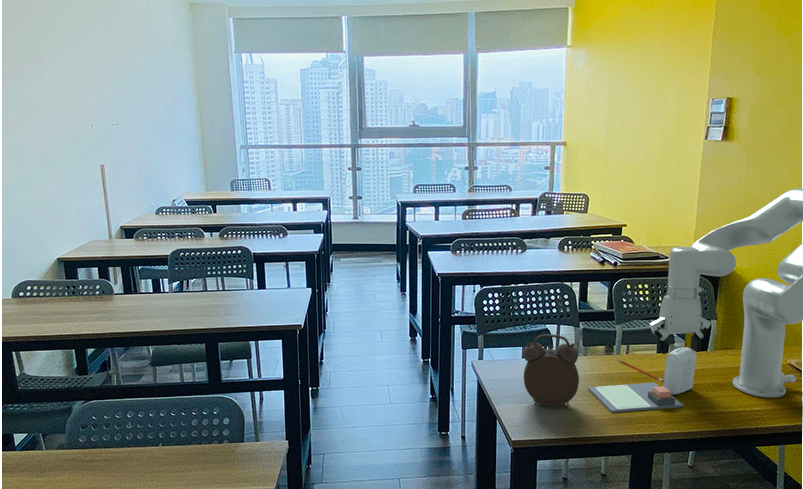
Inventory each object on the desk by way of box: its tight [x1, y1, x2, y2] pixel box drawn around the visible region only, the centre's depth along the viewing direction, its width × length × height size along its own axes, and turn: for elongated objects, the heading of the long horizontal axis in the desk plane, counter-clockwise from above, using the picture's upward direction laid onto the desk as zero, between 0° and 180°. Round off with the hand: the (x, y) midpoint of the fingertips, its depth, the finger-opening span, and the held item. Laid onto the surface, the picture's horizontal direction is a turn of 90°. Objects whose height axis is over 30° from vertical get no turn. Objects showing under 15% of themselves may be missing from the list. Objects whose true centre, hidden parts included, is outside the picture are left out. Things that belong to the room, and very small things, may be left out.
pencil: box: [617, 359, 664, 383], centre depth 169 cm, size 1×19×1 cm, turn 24°
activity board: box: [587, 382, 684, 413], centre depth 151 cm, size 20×14×2 cm
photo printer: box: [662, 347, 697, 396], centre depth 154 cm, size 10×4×12 cm, turn 124°
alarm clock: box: [523, 333, 580, 409], centre depth 148 cm, size 15×7×20 cm, turn 74°
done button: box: [653, 385, 672, 398], centre depth 148 cm, size 3×3×2 cm
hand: (678, 351), depth 153 cm, fingers open, 9 cm apart
